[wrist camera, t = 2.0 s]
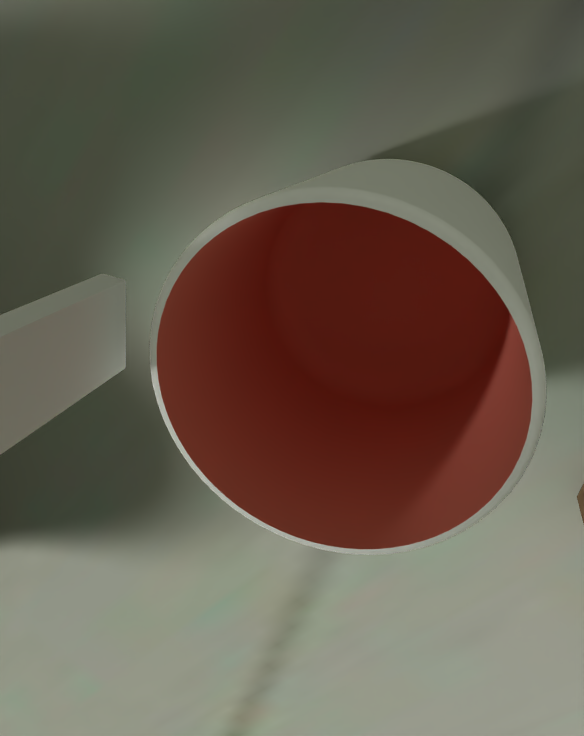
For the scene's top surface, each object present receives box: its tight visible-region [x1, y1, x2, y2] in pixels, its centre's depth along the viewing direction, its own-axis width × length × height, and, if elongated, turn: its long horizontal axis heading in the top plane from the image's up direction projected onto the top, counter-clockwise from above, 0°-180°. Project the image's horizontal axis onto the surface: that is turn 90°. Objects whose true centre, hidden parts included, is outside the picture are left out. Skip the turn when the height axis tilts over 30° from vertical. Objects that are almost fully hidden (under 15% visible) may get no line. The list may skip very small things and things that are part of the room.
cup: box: [149, 159, 547, 555], centre depth 18 cm, size 10×10×10 cm
